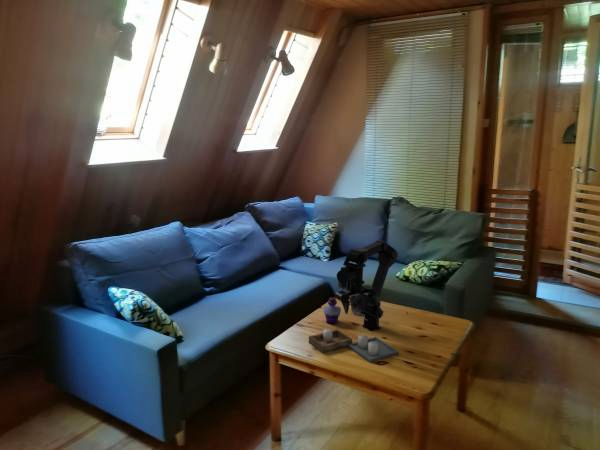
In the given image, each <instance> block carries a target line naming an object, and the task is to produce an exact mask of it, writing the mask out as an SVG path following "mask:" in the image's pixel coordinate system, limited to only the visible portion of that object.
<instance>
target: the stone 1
mask: <svg viewBox="0 0 600 450" xmlns="http://www.w3.org/2000/svg"><path fill="white" fill-rule="evenodd" d="M332 331H333V330H332V329H330V328H324V329H323V330H322V333H323V341H324V342H327V343H329V342H332Z"/></svg>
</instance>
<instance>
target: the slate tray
mask: <svg viewBox="0 0 600 450" xmlns="http://www.w3.org/2000/svg"><path fill="white" fill-rule="evenodd" d="M369 342H377V343H378V355H377V356H370V355H368V343H369ZM368 343H367V348H366V349H360V348H358V341H355V342H352V343H351V344H348V347H347V348H348V349H350V350H351V351H352V352H354V353H356V354H357V355H358V356H359V357H361V358H363V359H364V360H365V361H367V362H368V363H370V364H371V363H374V362H377V361H380V360H383V359H384V360H385V359H387V358H390V357H393V356H396V355H399V353H400V352H399V350H398V349H396V348H395V347H393V346H391V345H390V344H389V343H387V342H386V341H384V340H382V339H380V338H378V336H374V337H370V338H368Z"/></svg>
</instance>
